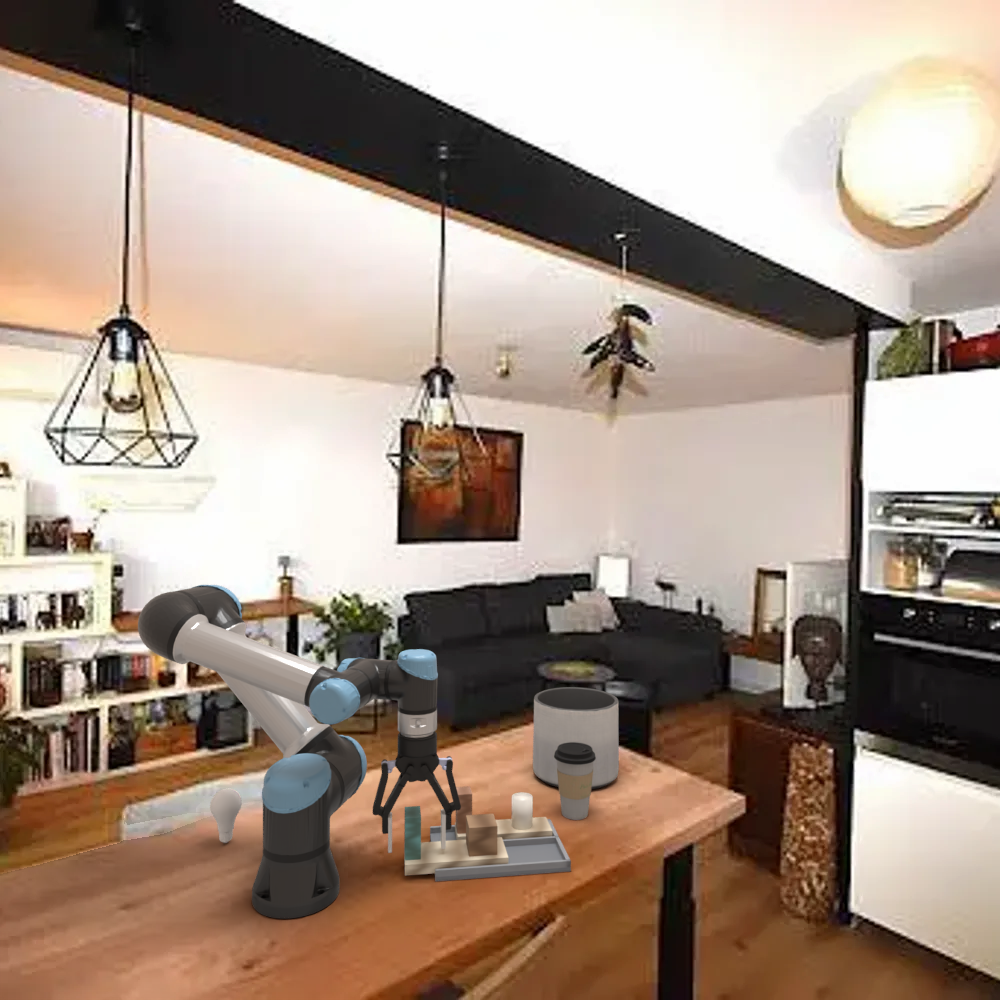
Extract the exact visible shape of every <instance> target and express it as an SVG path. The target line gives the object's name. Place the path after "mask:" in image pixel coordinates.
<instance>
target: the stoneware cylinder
mask: <svg viewBox="0 0 1000 1000" xmlns="http://www.w3.org/2000/svg"><path fill="white" fill-rule="evenodd" d="M533 798H534V797H533V795H532V794H531V793H529V792H525V791H524V792H523V791H522V792H521V791H520V792H516V793H513V794H512V795H511V819H512V827H513V828H515V829H517V830H528V829H530V828H532V826H533V818H534V816H533V813H534V812H533V806H534V805H533V804H534V803H533V801H534V799H533Z"/></svg>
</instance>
